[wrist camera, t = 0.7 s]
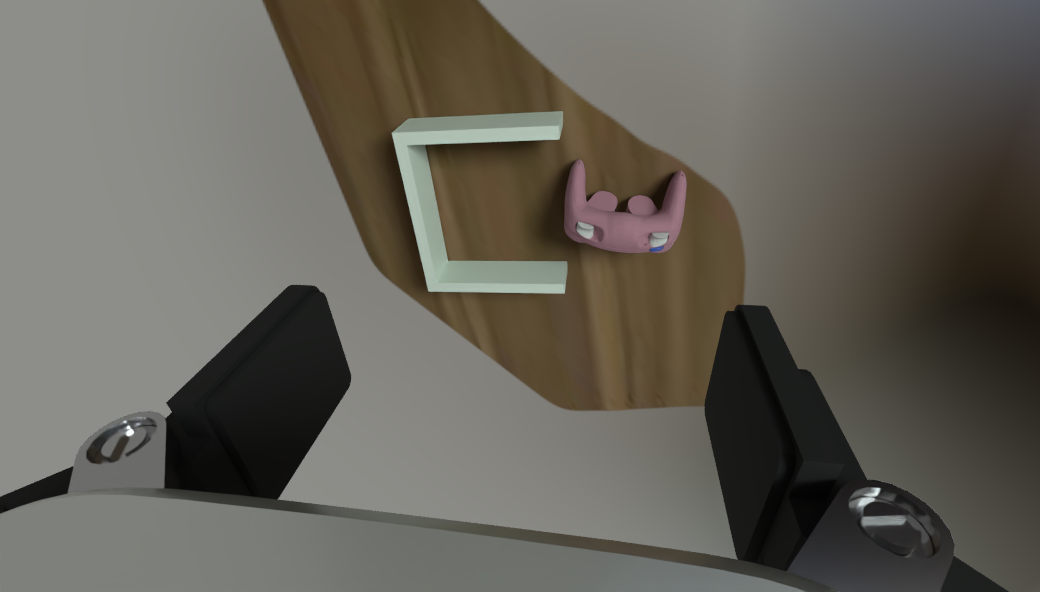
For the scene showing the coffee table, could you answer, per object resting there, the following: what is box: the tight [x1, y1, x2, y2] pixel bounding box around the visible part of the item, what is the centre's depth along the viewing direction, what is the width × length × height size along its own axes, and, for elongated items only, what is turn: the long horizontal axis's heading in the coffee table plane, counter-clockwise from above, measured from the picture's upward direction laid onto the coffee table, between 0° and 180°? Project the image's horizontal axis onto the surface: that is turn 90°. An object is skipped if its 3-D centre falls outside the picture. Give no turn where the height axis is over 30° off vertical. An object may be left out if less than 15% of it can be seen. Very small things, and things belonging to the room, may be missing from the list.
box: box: [392, 111, 567, 293], centre depth 42 cm, size 15×13×4 cm
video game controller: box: [564, 159, 686, 253], centre depth 40 cm, size 10×5×7 cm, turn 86°
